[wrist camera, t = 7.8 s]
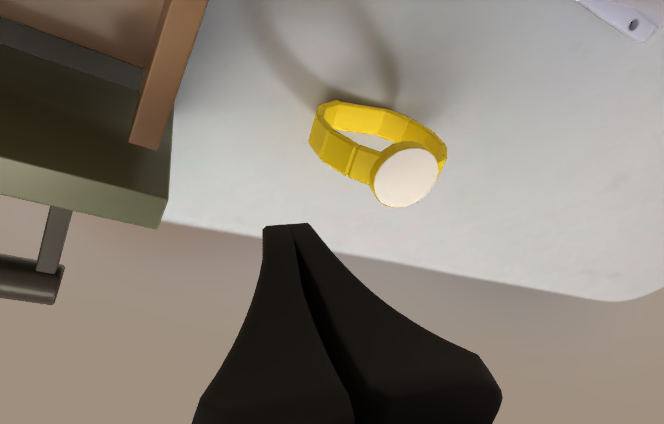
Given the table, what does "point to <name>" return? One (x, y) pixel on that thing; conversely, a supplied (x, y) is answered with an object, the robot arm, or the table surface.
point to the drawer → (89, 122)
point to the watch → (379, 167)
